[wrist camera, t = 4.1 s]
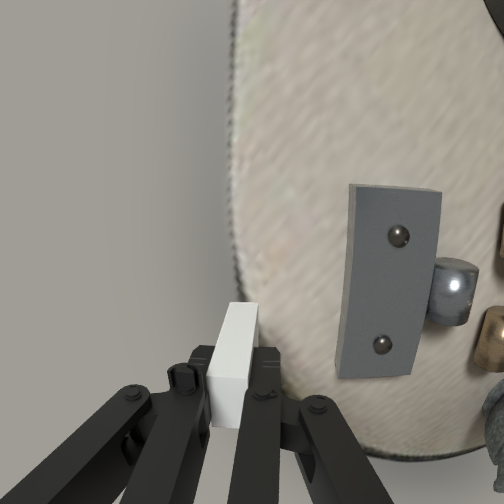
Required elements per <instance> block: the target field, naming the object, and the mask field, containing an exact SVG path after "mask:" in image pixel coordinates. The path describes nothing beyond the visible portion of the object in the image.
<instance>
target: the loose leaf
mask: <svg viewBox="0 0 504 504" xmlns="http://www.w3.org/2000/svg"><path fill="white" fill-rule="evenodd" d="M441 201H442V192H438V191H434V190H430V189H424V188H411V187H397V186H382V185H364V184H349V209H348V230H347V247H346V261H345V274H344V285H343V296H342V306H341V315H340V324H339V332H338V340H337V348H336V355H335V366H336V371H337V377H338V378H366V377H385V376H399V375H410V374H411V370H412V367H413V363H414V360H415V356H416V352H417V348H418V345H419V341H420V337H421V332H422V328H423V324H424V319H425V318H426V319H428V320H430V321H432V322H434V323H436V324H440V325H444V326H460V325H463V324H465V323H466V322H467V321H468V318H469V315H470V311H471V307H472V302H473V298H474V294H475V289H476V284H477V279H478V274H479V269H478V267H476V266H475V265H473V264H471V263H469V262H466V261H463V260H459V259H454V258H436V251H437V243H438V234H439V225H440V214H441Z"/></svg>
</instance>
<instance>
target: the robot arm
mask: <svg viewBox="0 0 504 504" xmlns="http://www.w3.org/2000/svg"><path fill="white" fill-rule="evenodd" d="M485 2H486V5H487V7H488V9H489V11H490V13H491V15H492V16H493V18H494V20H495V22H496V24H497V25H498V27H499V29H500V30H501V32H502V33H503V35H504V0H485ZM167 373H168V379H169V384H170V390H169V391H167V392H162V393H152V394H150V392H149V390H148V389H147V388H146V387H144V386H142V385H137V384H135V385H128V386H125V387H123V388H122V389H120V390H119V391H118V392H117V393H116V394H115V395H114V396H113V397H112V398H110V399H109V400H108V401H107V402H106V403H105V404H104V405H103V406H102V407H101V408H100V409H99V410H98V411H96V412H95V413H94V414H93V415H92V416H91V417H90V418H89V419H88V420H87V421H86V422H85V423H83V424H82V425H81V426H80V427H79V428H78V429H77V430H76V431H75V432H74V433H73V434H72V435H70V436H69V437H68V438H67V439H66V440H65V441H64V442H63V443H62V444H61V445H60V446H59V447H57V449H55V450H54V451H53V452H52V453H51V454H50V455H49V456H48V457H47V458H45V459H44V460H43V461H42V462H41V463H40V464H39V465H38V466H37V467H36V468H35V469H33V470H32V471H31V472H30V473H29V474H28V475H27V476H26V477H25V478H24V479H22V480H21V481H20V482H19V483H18V484H17V485H16V486H15V487H14V488H13V489H11V491H9V492H8V493H7V494H6V495H5V496H4V497H3V498H1V499H0V504H112V503H113V502H114V501H115V500H116V498H117V497H118V496H119V495H120V494H121V492H122V491H123V490H124V489H125V487H126V486H127V487H126V489H125V492H124V494H123V496H122V499H121V501H120V503H119V504H193V503H194V499H195V495H196V491H197V486H198V482H199V478H200V474H201V470H202V466H203V462H204V458H205V454H206V450H207V445H208V441H209V437H210V431H209V424H210V421H211V422H212V427H223V428H238V429H239V433H238V440H237V446H236V452H235V459H234V465H233V471H232V477H231V484H230V490H229V495H228V501H227V504H278V502H279V467H280V448H281V449H285V450H289V451H293V452H295V457H296V459H297V462H298V465H299V468H300V470H301V473H302V476H303V478H304V481H305V484H306V486H307V489H308V492H309V494H310V497H311V499H312V502H313V504H394V503H393V501H392V499H391V498H390V496H389V495H388V492H387V491H386V489H385V487H384V486H383V484H382V482H381V481H380V479H379V477H378V475H377V474H376V472H375V470H374V469H373V467H372V465H371V464H370V462H369V460H368V458H367V457H366V455H365V453H364V451H363V450H362V448H361V446H360V445H359V443H358V441H357V439H356V438H355V436H354V434H353V433H352V431H351V429H350V427H349V426H348V424H347V422H346V420H345V419H344V417H343V415H342V414H341V412H340V410H339V408H338V407H337V405H336V403H335V402H334V401H333V400H332V399H330V398H328V397H326V396H322V395H312V396H309V397H306V398H305V399H303V400H302V401H301V402H299V401H295V400H292V399H289V398H288V397H286V396H285V395H284V394H283V393H282V392H281V388H280V352H279V351H278V350H277V348H276V347H258V303H250V302H230V304H229V307H228V310H227V314H226V316H225V320H224V322H223V326H222V329H221V332H220V335H219V338H218V341H217V344H216V346H206V345H199V346H198V347H197V348H196V349H194V350H193V352H192V354H191V356H190V359H189V361H188V363H179V364H175V365H173V366H172V367H170V368H169V369H168V370H167Z"/></svg>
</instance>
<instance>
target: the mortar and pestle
mask: <svg viewBox="0 0 504 504" xmlns="http://www.w3.org/2000/svg"><path fill="white" fill-rule="evenodd" d="M482 408H483V412H484V416H485V417H486V418H487V421H486V424H485V440H486V445H487V449H488V452H489V456H490V458H491V460H492V462H493V464H494V465H498V471H497V479H496V480H495V481H494V485H493V487H494V491H496V492H498V493H504V379H503V380H501V381H500V382H499V383H498V384H497V385H496V386H495V387H494V389H493V390H492V391H491V392H490V393H489V394H488V396H487V398H486V400H485V402H484V404H483V406H482Z"/></svg>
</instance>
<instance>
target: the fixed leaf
mask: <svg viewBox="0 0 504 504" xmlns="http://www.w3.org/2000/svg"><path fill="white" fill-rule="evenodd" d="M499 254H500V256H501V257H503V258H504V226H503V234H502V241H501V247H500V253H499ZM474 360H475V362H476V363H477V365H479V366H480V367H481V368H483V369H485V370H487V371H490V372H496V373H499V372H504V306H492V307H490V308H488V310H487V313H486V317H485V321H484V324H483V328H482V331H481V334H480V338H479V341H478V344H477V347H476V350H475V353H474Z"/></svg>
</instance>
